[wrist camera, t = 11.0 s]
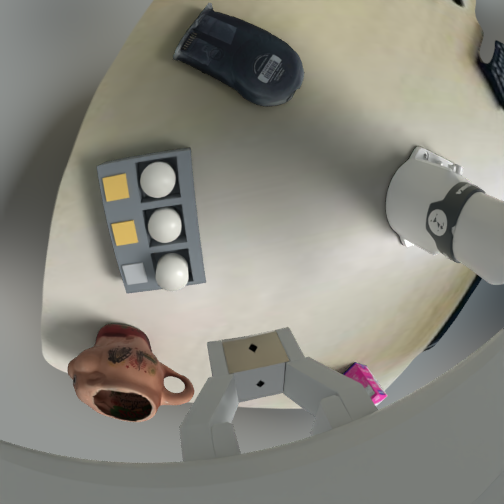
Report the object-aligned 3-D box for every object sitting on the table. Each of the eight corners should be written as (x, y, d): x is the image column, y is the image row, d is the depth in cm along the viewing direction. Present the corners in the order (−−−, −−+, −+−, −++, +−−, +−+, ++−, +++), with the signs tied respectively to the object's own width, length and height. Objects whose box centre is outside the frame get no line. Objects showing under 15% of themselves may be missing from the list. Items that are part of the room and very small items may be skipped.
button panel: (190, 147, 31) (190, 150, 27) (204, 269, 38) (206, 283, 35) (105, 162, 29) (95, 166, 25) (130, 279, 36) (126, 294, 33)
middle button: (179, 202, 32) (178, 208, 30) (183, 232, 34) (183, 240, 32) (147, 207, 32) (145, 213, 29) (153, 236, 33) (151, 244, 31)
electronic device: (171, 71, 27) (279, 120, 31) (165, 53, 22) (293, 110, 26) (208, 20, 26) (309, 67, 30) (209, -2, 20) (325, 51, 24)
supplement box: (367, 364, 61) (388, 396, 51) (351, 379, 63) (370, 411, 53) (355, 361, 59) (378, 394, 49) (339, 376, 60) (359, 410, 50)
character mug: (192, 319, 42) (200, 389, 30) (188, 368, 47) (196, 431, 35) (74, 309, 36) (49, 373, 24) (87, 359, 41) (74, 419, 29)
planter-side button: (185, 250, 33) (185, 260, 31) (190, 278, 35) (190, 288, 33) (154, 255, 32) (152, 264, 30) (160, 282, 34) (159, 293, 32)
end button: (174, 157, 30) (173, 160, 28) (177, 190, 32) (177, 195, 29) (141, 163, 29) (138, 166, 27) (146, 195, 31) (143, 200, 29)
